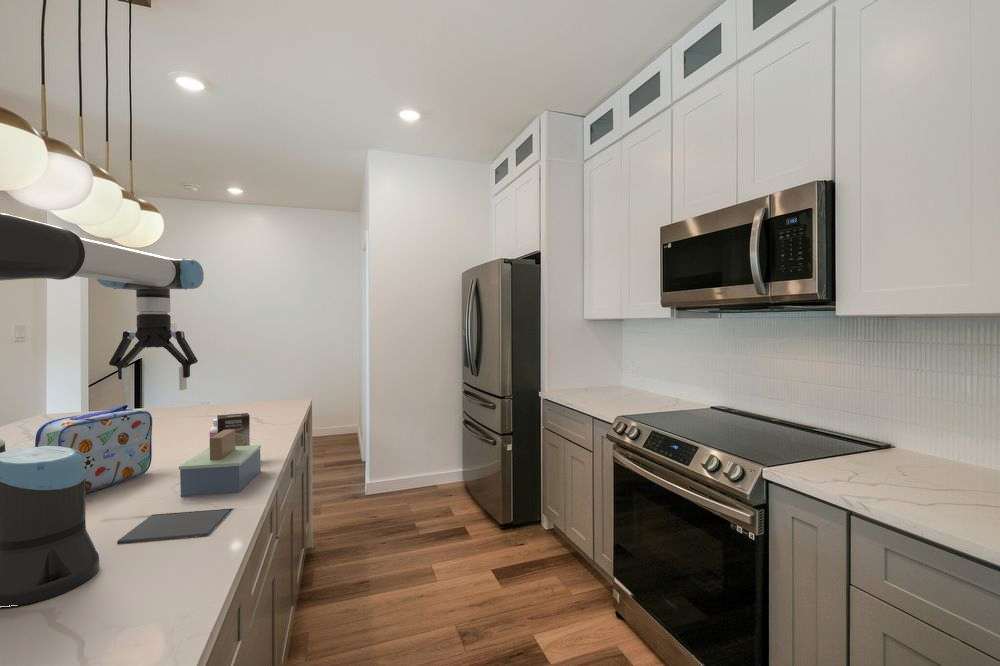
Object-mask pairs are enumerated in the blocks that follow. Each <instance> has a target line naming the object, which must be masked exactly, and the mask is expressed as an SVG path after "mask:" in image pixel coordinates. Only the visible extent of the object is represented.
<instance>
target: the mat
mask: <svg viewBox="0 0 1000 666" xmlns="http://www.w3.org/2000/svg"><path fill="white" fill-rule="evenodd" d="M233 509H234V508H232V507H231V508H222V509H219V508H218V509H208V510H207V509H206V510H196V511H182V512H170V513H158V514H155V513H154V514H151V515H150V516H148V517H147V518H146V519H145V520H143V521H142V522H141V523H139V524H137V525H136V526H135V527H134V528H132V529H131V530H129V532H127V533H126V534H124V535H123V536H122V537H120V538H119V539H118V540H117V541H116V542H117V544H118V545H119V544H129V543H141V542H153V541H163V540H175V539H176V540H177V539H185V537H188V538H196V537H195V536H200V537H207V536H209V535H210V534H211V533H212V532H213V531H214V530H215V529H216V528H217V527H218V525H220V523H222V521H223V520H224V519H225V518H226V517H227V516H228V515H229V514H230V513H229V512H231V511H233ZM228 513H229V514H228ZM227 514H228V515H227ZM226 515H227V516H226ZM225 516H226V517H225ZM223 518H224V519H223ZM215 527H216V528H215ZM214 528H215V529H214Z"/></svg>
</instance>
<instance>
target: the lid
mask: <svg viewBox="0 0 1000 666" xmlns="http://www.w3.org/2000/svg"><path fill="white" fill-rule="evenodd" d="M259 449H260V450H261V449H262V444H256V445H255V444H253V445H252V444H251V445H250V446H235V429H232V430H223V431H221V432H219V433H218V434H216V435H214V436H213V437H211V438H210V437H209V447H208V448H205V450H203V451H201V452H200V453H198V454H196V455H195V456H193V457H192V458H190V459H189V460H187V461H185V462H183V463H182V464H180V465H179V466H178V470H180V469H196V468H212V467H229V466H240V465H241V464H242V463H244V462H245V461H246V460H247V459H248V458H249V457H251V456H252V455H253V454H254V453H255V452H256V451H258V450H259Z"/></svg>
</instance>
